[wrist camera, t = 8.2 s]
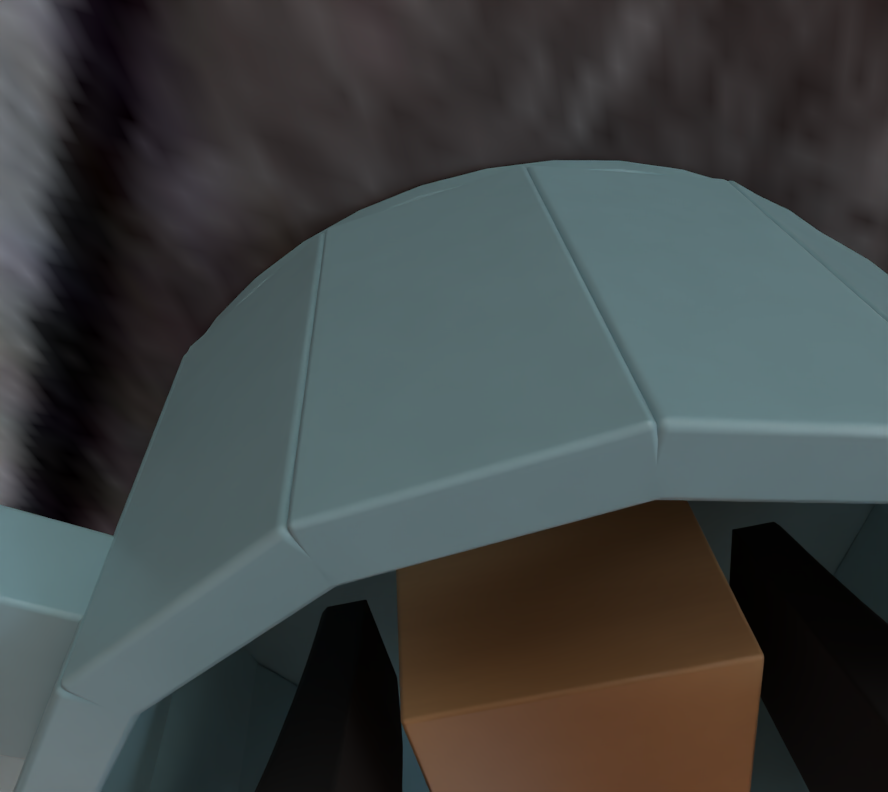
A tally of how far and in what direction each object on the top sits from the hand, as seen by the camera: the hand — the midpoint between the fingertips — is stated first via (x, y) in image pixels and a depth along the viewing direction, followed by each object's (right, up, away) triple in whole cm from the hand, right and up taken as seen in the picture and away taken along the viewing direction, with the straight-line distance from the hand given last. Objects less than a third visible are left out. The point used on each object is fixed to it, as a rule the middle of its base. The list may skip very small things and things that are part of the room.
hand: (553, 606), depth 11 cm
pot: (0, +1, +1) cm, 2 cm away
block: (0, +1, +1) cm, 1 cm away
